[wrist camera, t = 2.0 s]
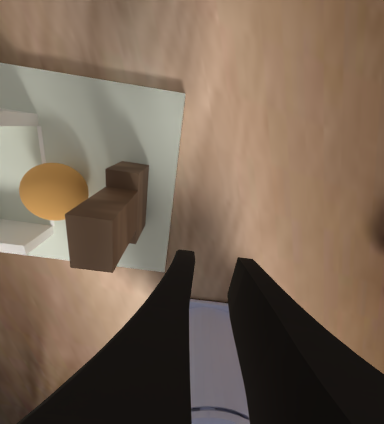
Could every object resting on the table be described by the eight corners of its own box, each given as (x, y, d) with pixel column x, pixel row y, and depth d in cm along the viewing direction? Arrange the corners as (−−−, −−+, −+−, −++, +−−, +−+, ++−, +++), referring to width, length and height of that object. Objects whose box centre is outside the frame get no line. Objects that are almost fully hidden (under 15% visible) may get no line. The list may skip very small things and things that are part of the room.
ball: (97, 162, 15) (66, 174, 12) (98, 211, 17) (72, 234, 13) (43, 154, 15) (-6, 163, 11) (49, 204, 17) (8, 226, 13)
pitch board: (185, 95, 14) (185, 93, 13) (165, 267, 20) (164, 272, 19) (-37, 58, 14) (-51, 54, 13) (9, 247, 19) (1, 252, 19)
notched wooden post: (149, 165, 15) (112, 196, 8) (145, 224, 17) (112, 290, 10) (121, 160, 15) (61, 189, 8) (121, 221, 17) (72, 285, 10)
